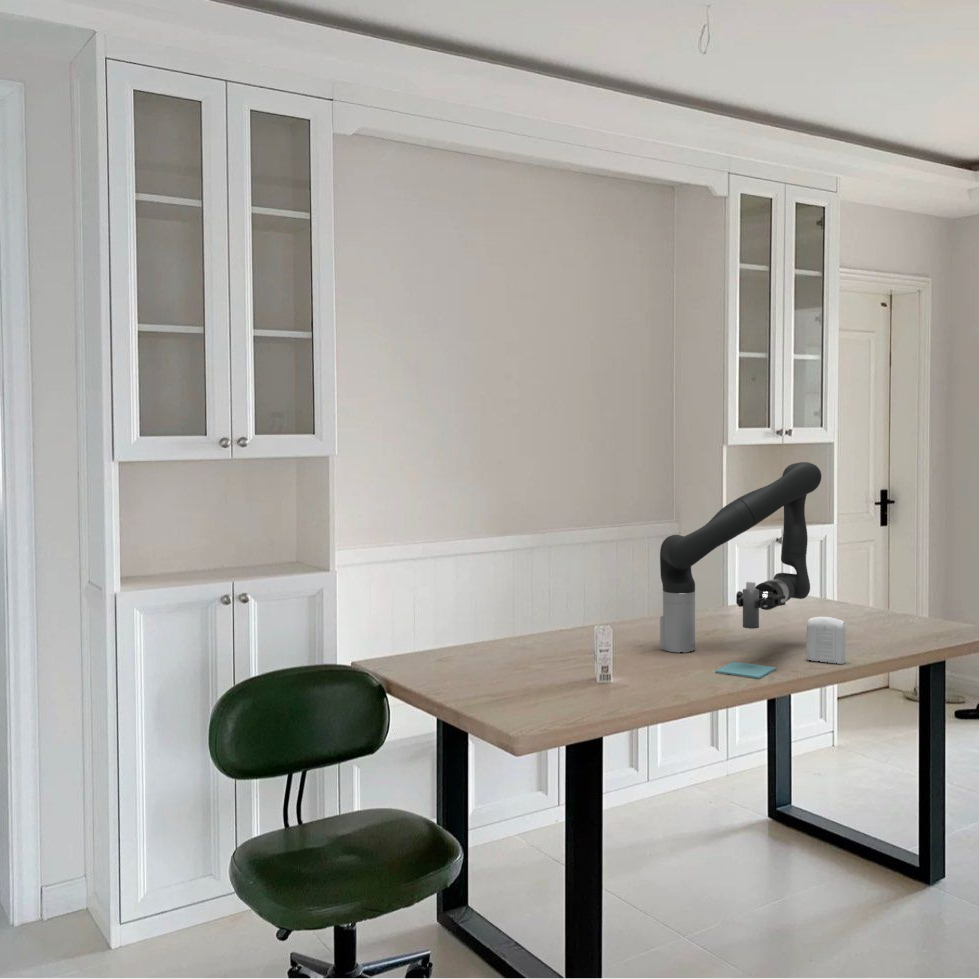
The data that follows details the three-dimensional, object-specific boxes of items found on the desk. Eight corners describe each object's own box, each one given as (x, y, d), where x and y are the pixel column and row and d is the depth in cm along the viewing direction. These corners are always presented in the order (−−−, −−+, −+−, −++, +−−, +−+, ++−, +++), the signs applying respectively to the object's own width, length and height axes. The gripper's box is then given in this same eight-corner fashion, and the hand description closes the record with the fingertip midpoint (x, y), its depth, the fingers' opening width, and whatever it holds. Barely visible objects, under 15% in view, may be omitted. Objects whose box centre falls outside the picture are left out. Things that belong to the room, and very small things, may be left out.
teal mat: (715, 672, 270) (715, 670, 270) (733, 663, 280) (733, 661, 280) (759, 679, 263) (759, 676, 263) (776, 669, 273) (776, 667, 273)
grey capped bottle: (740, 627, 273) (740, 582, 272) (746, 624, 276) (746, 580, 275) (755, 629, 270) (755, 584, 270) (761, 626, 274) (761, 581, 273)
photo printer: (846, 661, 281) (847, 617, 280) (843, 665, 277) (844, 619, 276) (808, 658, 286) (808, 614, 285) (804, 661, 282) (805, 616, 281)
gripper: (746, 578, 289) (722, 587, 275) (796, 582, 281) (774, 591, 267) (746, 605, 290) (722, 615, 276) (796, 609, 281) (774, 620, 267)
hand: (748, 603), depth 271 cm, fingers closed on grey capped bottle, 4 cm apart
